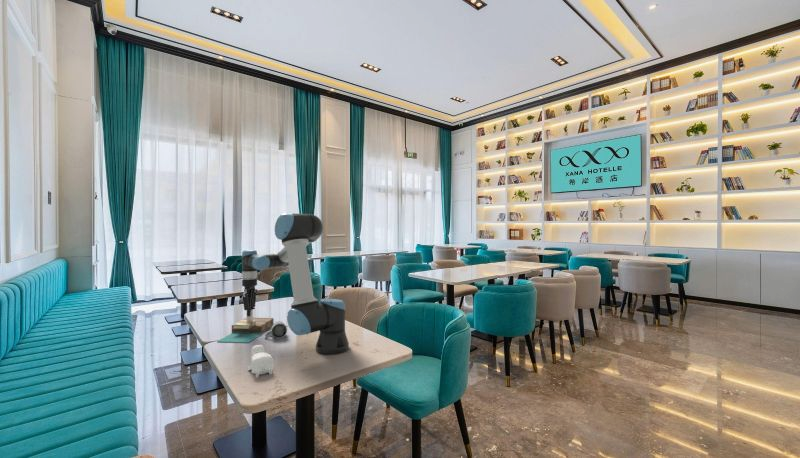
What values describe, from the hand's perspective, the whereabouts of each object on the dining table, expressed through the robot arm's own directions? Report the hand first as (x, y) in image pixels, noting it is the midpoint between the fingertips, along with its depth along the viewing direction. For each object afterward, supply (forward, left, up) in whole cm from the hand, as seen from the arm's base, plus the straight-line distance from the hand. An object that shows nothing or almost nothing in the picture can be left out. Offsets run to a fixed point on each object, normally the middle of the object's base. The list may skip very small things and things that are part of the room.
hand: (249, 321), depth 190 cm
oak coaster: (-5, 0, -1) cm, 5 cm away
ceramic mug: (-8, -18, -5) cm, 21 cm away
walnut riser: (+4, 0, -5) cm, 7 cm away
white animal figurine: (-49, -29, -6) cm, 58 cm away
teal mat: (-11, -1, -5) cm, 13 cm away
